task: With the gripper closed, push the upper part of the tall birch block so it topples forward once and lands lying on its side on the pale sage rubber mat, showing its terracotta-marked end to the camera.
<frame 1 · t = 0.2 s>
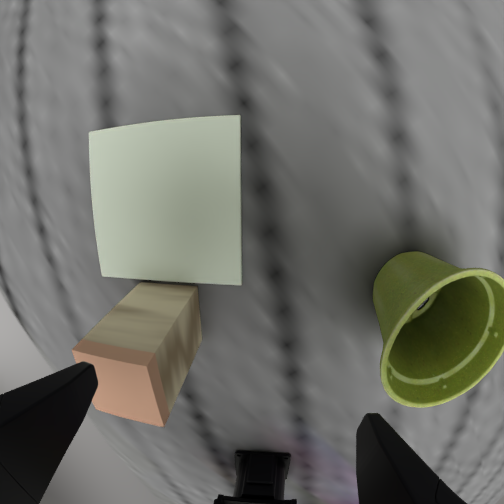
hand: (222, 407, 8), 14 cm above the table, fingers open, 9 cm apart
birch block: (171, 311, 24), on the table
plant pot: (406, 285, 21), on the table
sage mat: (160, 202, 21), on the table
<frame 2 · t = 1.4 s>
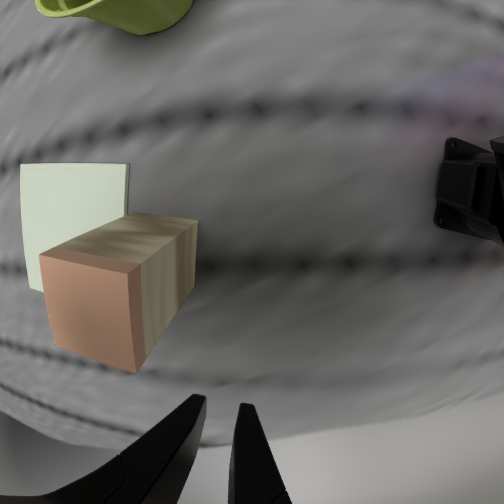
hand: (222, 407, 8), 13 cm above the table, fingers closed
birch block: (163, 250, 21), on the table
plant pot: (157, 4, 16), on the table
sage mat: (68, 235, 22), on the table
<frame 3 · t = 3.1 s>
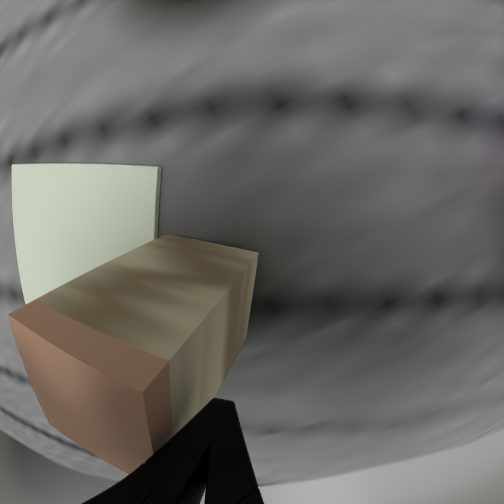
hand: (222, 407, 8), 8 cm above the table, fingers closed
birch block: (206, 287, 16), on the table, tilted 8°, touching gripper
sage mat: (75, 258, 17), on the table
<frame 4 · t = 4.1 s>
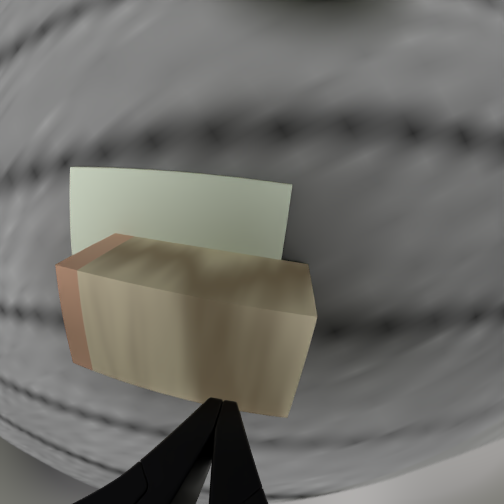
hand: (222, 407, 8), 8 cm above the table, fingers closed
birch block: (299, 337, 12), point 3 cm above the table, tilted 90°, touching sage mat
sage mat: (163, 283, 16), on the table
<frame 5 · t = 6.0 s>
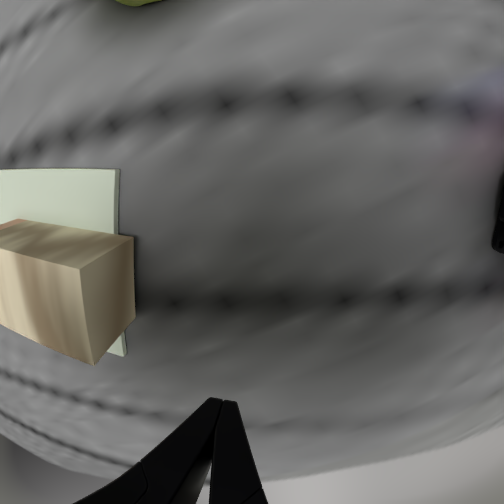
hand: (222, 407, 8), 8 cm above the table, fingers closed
birch block: (112, 298, 14), point 3 cm above the table, tilted 90°, touching sage mat
sage mat: (49, 257, 17), on the table
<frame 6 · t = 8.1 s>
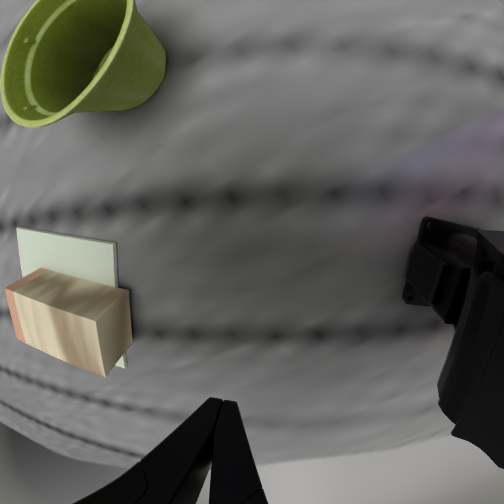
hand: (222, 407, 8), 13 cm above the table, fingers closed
birch block: (116, 333, 20), point 3 cm above the table, tilted 90°, touching sage mat
plant pot: (130, 72, 18), on the table
sage mat: (67, 296, 24), on the table
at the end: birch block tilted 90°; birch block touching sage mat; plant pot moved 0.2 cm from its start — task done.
